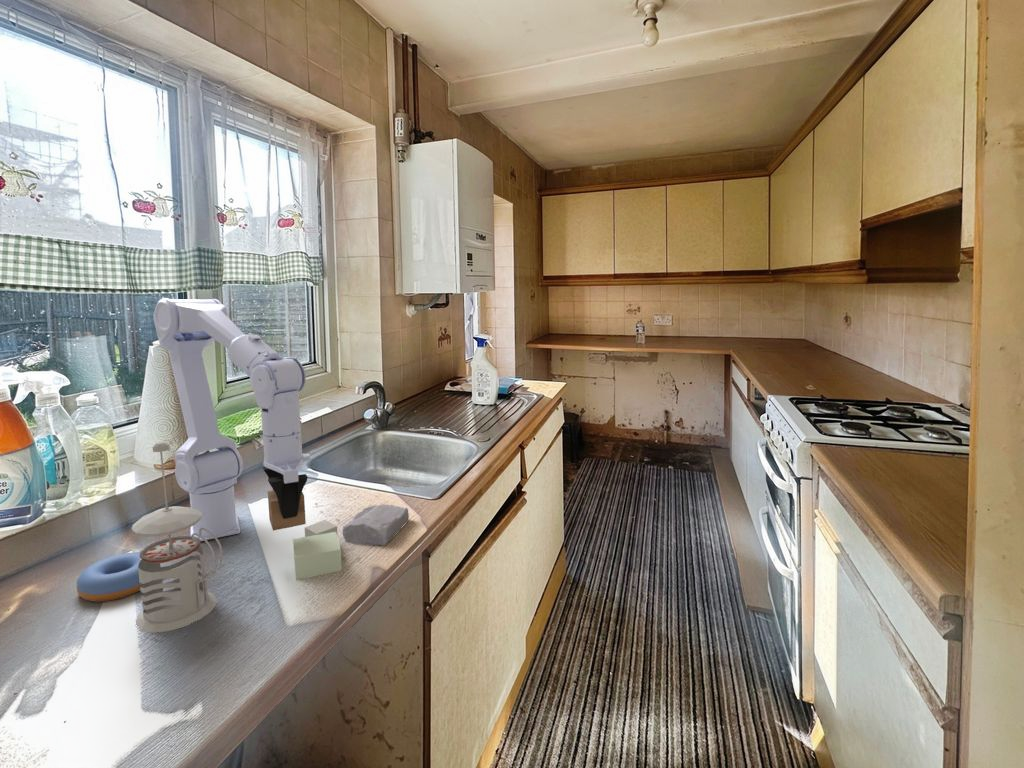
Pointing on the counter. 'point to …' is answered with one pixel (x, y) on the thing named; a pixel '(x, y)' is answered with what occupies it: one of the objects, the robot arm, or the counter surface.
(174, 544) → the french press
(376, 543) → the stone block
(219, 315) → the robot arm
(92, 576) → the doughnut
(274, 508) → the walnut cube
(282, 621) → the counter surface
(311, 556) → the sage block
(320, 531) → the grey cube
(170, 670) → the counter surface
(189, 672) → the counter surface
